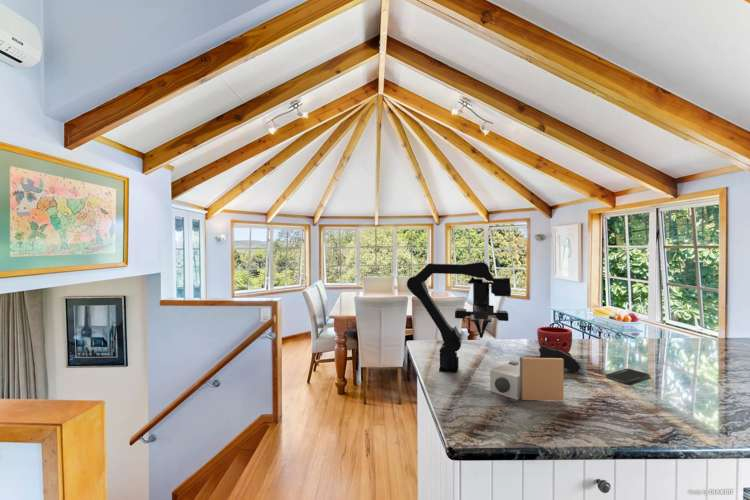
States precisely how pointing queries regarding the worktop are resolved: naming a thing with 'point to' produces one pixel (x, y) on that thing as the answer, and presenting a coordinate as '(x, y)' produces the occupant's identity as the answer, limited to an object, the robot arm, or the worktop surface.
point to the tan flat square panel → (541, 378)
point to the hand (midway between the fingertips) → (481, 337)
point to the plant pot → (555, 338)
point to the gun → (554, 353)
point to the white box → (506, 379)
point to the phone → (627, 376)
